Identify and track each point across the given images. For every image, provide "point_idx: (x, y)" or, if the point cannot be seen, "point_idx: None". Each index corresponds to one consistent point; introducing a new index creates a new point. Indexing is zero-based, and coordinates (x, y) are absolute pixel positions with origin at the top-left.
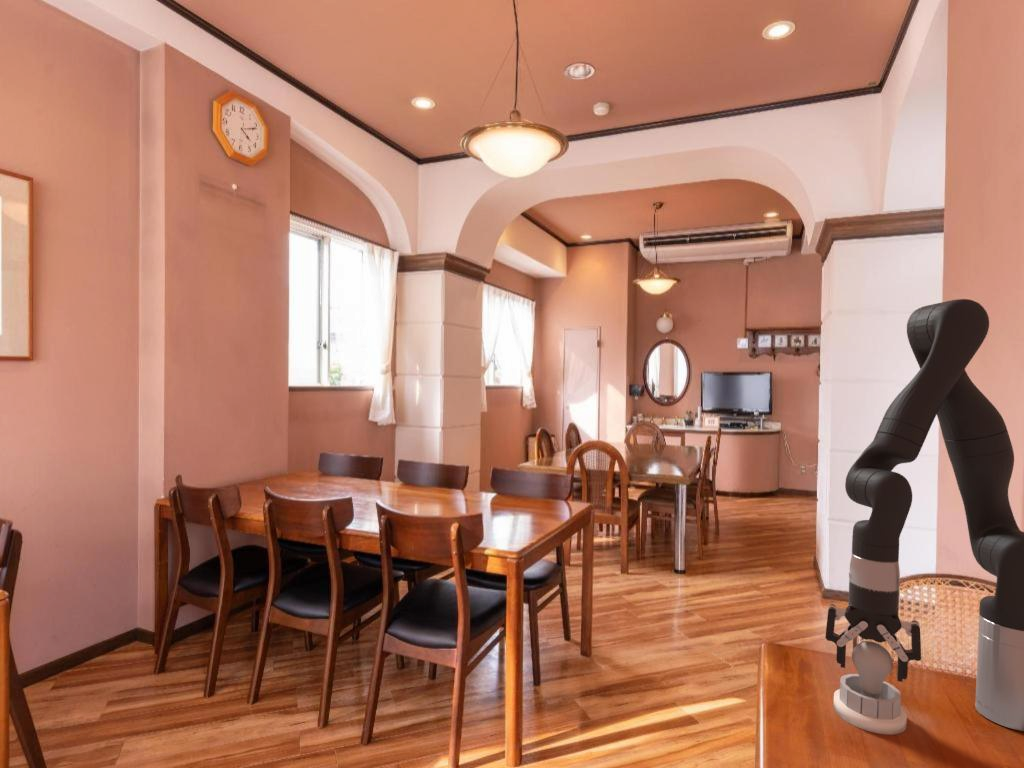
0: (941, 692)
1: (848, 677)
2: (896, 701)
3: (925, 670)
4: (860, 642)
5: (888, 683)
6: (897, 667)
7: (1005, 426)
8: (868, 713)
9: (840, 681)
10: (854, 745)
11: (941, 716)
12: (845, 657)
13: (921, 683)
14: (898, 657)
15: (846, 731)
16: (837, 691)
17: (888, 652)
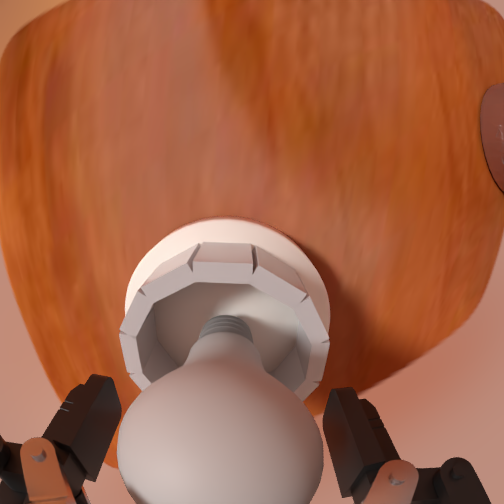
0: (426, 59)
1: (142, 323)
2: (302, 399)
3: None
4: (138, 498)
5: (297, 294)
6: (342, 429)
7: None
8: None
9: (126, 364)
10: None
11: (416, 203)
12: (101, 413)
13: (384, 22)
14: (357, 478)
15: None
16: (131, 295)
17: (309, 501)
